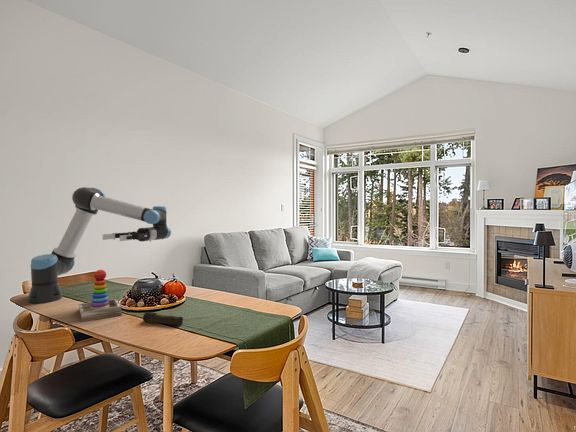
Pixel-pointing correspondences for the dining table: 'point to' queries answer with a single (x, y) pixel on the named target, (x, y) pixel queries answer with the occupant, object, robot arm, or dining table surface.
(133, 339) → the dining table surface
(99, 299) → the stacking toy
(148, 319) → the hand tool
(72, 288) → the dining table surface
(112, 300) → the grey wooden tray
